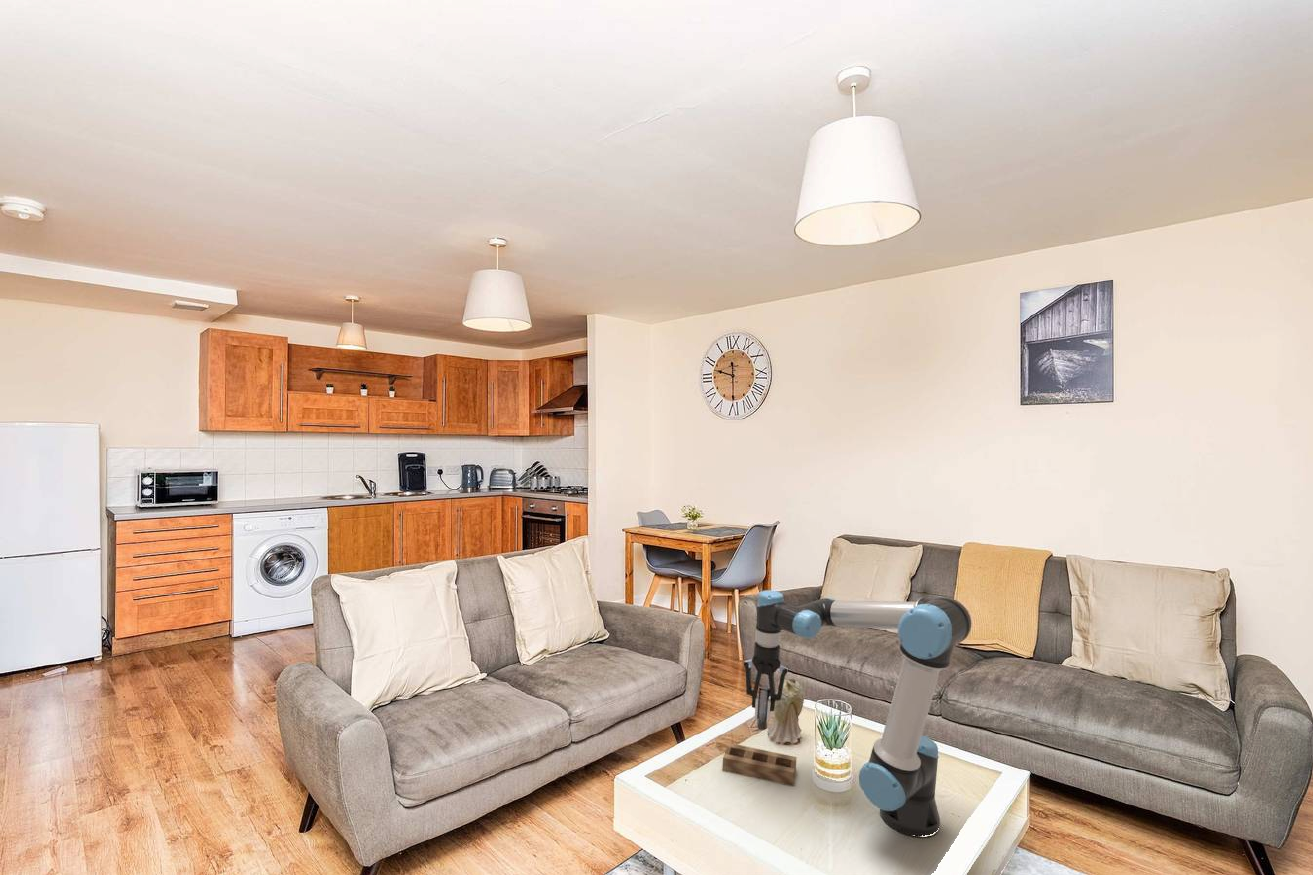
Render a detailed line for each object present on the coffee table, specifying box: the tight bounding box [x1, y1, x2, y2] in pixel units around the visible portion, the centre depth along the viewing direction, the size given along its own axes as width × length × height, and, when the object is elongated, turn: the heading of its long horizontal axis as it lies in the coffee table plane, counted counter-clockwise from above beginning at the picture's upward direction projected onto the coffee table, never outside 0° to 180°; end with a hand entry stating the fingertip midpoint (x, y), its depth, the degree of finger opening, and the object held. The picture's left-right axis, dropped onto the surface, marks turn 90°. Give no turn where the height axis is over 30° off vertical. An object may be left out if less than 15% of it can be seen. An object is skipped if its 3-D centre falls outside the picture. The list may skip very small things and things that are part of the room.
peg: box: [756, 685, 770, 731], centre depth 194 cm, size 3×3×12 cm
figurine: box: [767, 678, 805, 747], centre depth 215 cm, size 12×12×20 cm
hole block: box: [721, 742, 797, 787], centre depth 195 cm, size 21×9×4 cm, turn 73°
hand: (762, 718), depth 195 cm, fingers closed on peg, 3 cm apart
